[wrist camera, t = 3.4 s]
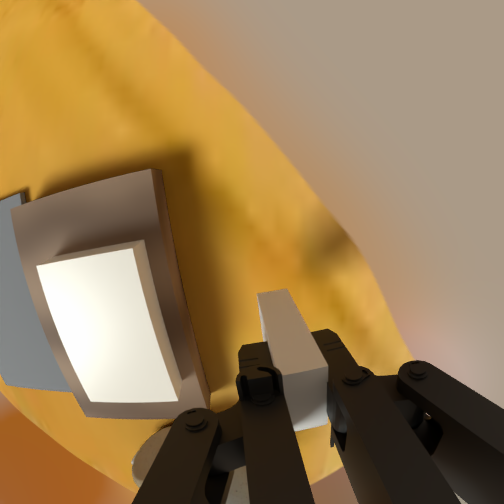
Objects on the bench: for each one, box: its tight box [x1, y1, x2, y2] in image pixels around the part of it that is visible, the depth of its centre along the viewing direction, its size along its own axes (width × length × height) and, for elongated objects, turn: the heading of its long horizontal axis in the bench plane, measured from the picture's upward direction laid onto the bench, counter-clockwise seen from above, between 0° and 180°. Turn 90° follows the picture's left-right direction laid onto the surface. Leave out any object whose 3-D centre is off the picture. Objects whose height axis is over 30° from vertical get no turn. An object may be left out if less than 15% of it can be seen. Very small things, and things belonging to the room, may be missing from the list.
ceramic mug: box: [131, 426, 250, 504], centre depth 18 cm, size 11×8×8 cm
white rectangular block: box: [36, 240, 182, 403], centre depth 15 cm, size 9×6×2 cm, turn 8°
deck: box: [10, 169, 211, 419], centre depth 17 cm, size 16×10×2 cm, turn 8°
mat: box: [0, 192, 72, 392], centre depth 17 cm, size 16×10×1 cm, turn 8°
